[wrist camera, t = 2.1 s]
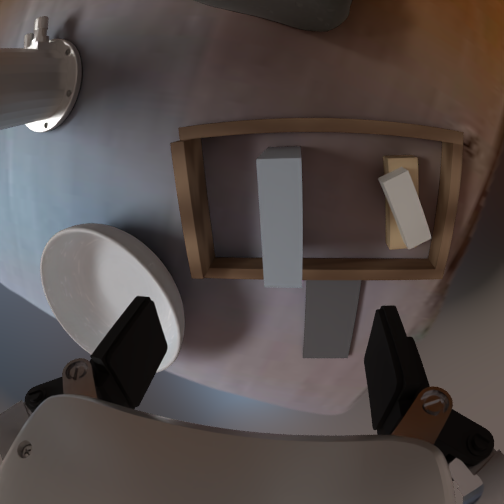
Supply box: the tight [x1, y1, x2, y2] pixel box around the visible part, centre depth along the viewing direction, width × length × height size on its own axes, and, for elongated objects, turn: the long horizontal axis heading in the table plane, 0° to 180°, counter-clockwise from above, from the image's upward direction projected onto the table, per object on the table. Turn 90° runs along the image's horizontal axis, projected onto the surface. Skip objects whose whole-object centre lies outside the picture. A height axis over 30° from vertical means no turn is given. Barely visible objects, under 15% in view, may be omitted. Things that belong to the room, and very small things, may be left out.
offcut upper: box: [378, 167, 431, 249], centre depth 23 cm, size 7×3×2 cm, turn 32°
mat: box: [303, 280, 361, 358], centre depth 33 cm, size 13×6×1 cm, turn 4°
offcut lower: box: [383, 155, 419, 250], centre depth 25 cm, size 9×3×2 cm, turn 10°
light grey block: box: [256, 146, 303, 288], centre depth 24 cm, size 10×3×8 cm, turn 4°
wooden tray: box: [170, 118, 463, 280], centre depth 25 cm, size 15×26×4 cm, turn 94°
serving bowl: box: [40, 223, 185, 373], centre depth 33 cm, size 21×21×7 cm
